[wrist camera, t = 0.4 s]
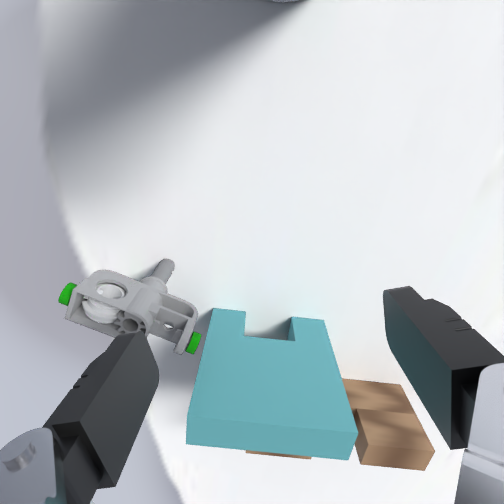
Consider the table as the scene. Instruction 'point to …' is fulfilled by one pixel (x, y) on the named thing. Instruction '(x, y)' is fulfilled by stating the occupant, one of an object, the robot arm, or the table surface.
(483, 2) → the table surface
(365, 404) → the walnut slotted plate
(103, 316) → the mechanical component
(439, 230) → the table surface
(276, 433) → the teal notched block
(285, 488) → the table surface
